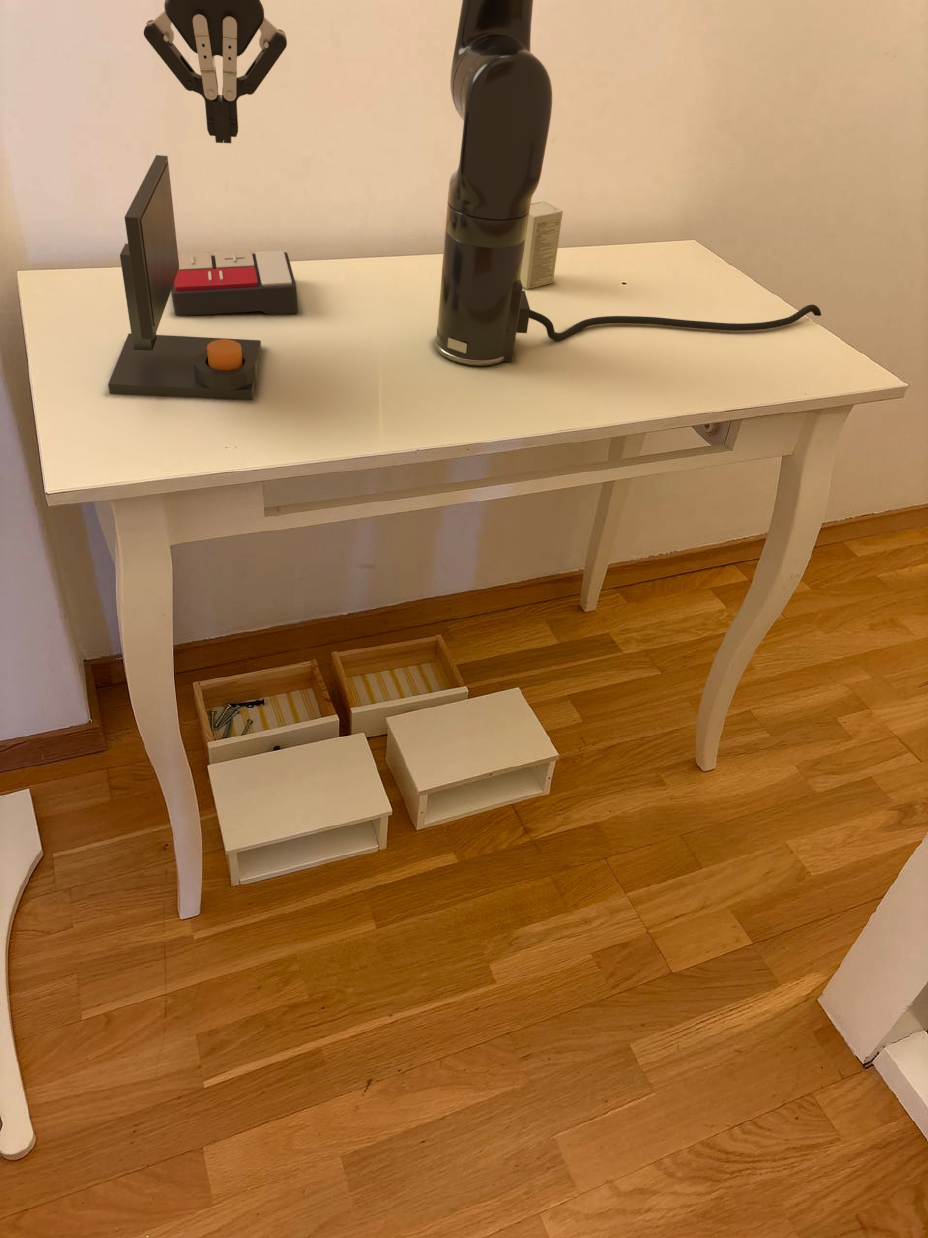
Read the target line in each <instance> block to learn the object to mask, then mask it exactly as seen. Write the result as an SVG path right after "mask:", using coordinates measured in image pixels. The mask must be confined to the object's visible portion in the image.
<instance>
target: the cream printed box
mask: <svg viewBox="0 0 928 1238" xmlns="http://www.w3.org/2000/svg"><path fill="white" fill-rule="evenodd" d="M562 219H563V210H562V209H561V208H557V207H556V206H554V205H552V204H550V203H548V202H546V201H544V200H543V201H538V202H533V203H532V202H531V204H530V210H529V217H528V225H527V232H526V239H525V247H524V254H523V261H522V269H521V276H520V278H521V282H522V286H523V289H525V290H528V289H533V288H537V287H541V286H545V285H549V284H552V283H553V282H554V276H555V269H556V263H557V255H558V249H559V241H560V233H561V227H562V226H561V225H562Z"/></svg>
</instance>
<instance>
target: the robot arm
mask: <svg viewBox="0 0 928 1238" xmlns="http://www.w3.org/2000/svg"><path fill="white" fill-rule="evenodd" d="M163 5H164V6H163V7H164V10H163V11H162V12H161V13H160V14H159V15H158V16H156V18H155V19H149V20H148V21H147V22H146V23H145V26H144V29H143V36H144V38H145V40H146V41H147V42H148V43H149V45H150V46H151V47H152V48H153V49H154V51H155V52H156V54H157V55H158V56H159V58H161V60H162V62H164V64H165V65H166V67H167V68H168V69H169V70H170V72H172V74H173V75H174V77H176V79H177V80H178V81H179V83H180V84H181V85H182V87H183V88H184V89H185V91H188V92H194V93H196V94H199V95H200V96H201V97H202V98H203V101H204V107H205V121H206V130H207V132H208V135H209V136H210V137H214V138H215V139H214V141H215V143H216V144H232V138H237V136H238V133H239V118H238V117H239V115H238V100H239V98H240V97H243V96H246V95H249V96H251V95H253V94H255V92H256V91H257V89H258V88H259V86H260V85H261V84H262V83H263V81H264V80H265V79H266V77H267V75H268V74H269V73H270V71H271V69H272V68H273V67H274V65H275V64H276V63H277V61H278V60H279V58H280V57H281V55H282V54H283V53H284V51H285V50H286V48H287V46H288V39H287V34H286V33H285V31H284V30H283V29H278V28H277V27H276V26H274V24H273V23H271V22H270V21H269V20H268V19H267V18H266V17H265V9H264V6H263V4H262V2H261V0H164V3H163ZM533 6H534V0H462V1H461V7H460V13H459V14H460V15H459V19H458V25H457V26H458V27H457V32H456V38H455V44H454V50H453V56H452V61H451V62H452V63H451V69H450V77H449V79H450V81H449V84H450V85H449V88H450V95H451V100H452V102H453V105H454V108H455V110H456V112H457V114H458V115H459V117H460V118H461V120H462V121H463V124H462V125H463V127H462V135H461V136H462V137H461V144H460V153H459V163H458V167H457V170H455V171H454V172H453V173H452V174H451V176H450V178H449V183H448V190H447V191H448V192H447V194H448V195H447V205H446V216H445V227H444V228H445V230H444V231H445V232H444V240H443V241H444V242H443V244H444V245H443V252H442V266H441V278H440V279H441V280H440V290H439V301H438V302H439V303H438V315H437V316H438V317H437V327H436V336H435V343H434V344H435V345H434V346H435V349H436V351H437V352H438V353H439V354H440V355H441V356H442V357H444V358H446V359H448V360H450V361H453V362H455V363H459V364H462V365H468V366H477V367H478V366H479V367H480V366H481V367H482V366H483V367H484V366H493V365H496V364H500V363H502V362H513V359H514V352H515V346H516V338H517V334H528V327H529V321H530V319H531V320H533V321H536V322H538V323H539V324H541V325H543V326H544V328H545V329H546V334H547V337H548V338H549V339H550V340H552V341H556V342H558V341H560V342H561V341H563V340H566V339H568V338H570V337H571V336H573V335H575V334H577V333H578V332H580V331H582V330H583V329H585V328H588V327H592V326H599V325H612V324H613V325H614V324H627V325H629V324H631V325H632V324H633V325H654V326H664V327H665V326H666V327H673V328H684V329H698V330H699V329H700V330H711V331H730V332H745V331H746V332H747V331H762V330H770V329H775V328H780V327H784V326H788V325H791V324H794V323H796V322H797V321H799V320H800V319H802V318H803V317H804V316H806V315H807V314H809V313H812V314H813V315H814V316H816V317H820V316H822V312H821V309H820V308H819V307H818V306H817V305H815V304H808V305H805V306H803V307H802V308H801V309H799V310H798V311H796V312H794V313H793V314H792V315H790V316H787V317H784V318H779V319H775V320H770V321H764V322H763V321H762V322H747V323H745V322H744V323H741V322H740V323H736V322H735V323H733V322H717V321H702V320H689V319H677V318H670V317H669V318H667V317H660V316H659V317H658V316H639V315H606V316H597V317H590V318H587V319H586V318H585V319H584V320H580V321H579V322H577V323H575V324H573V325H572V326H570V327H569V328H567V329H566V330H564V331H562V332H556V331H555V327H554V323H553V321H552V320H550V318H548V317H547V316H545V315H544V314H541V313H539V312H537V311H534V310H532V309H531V308H530V304H529V300H528V297H527V294H526V291H525V290H524V287H523V286H522V282H521V278H520V276H521V269H522V261H523V254H524V247H525V239H526V232H527V225H528V217H529V210H530V204H532V198H533V196H534V194H535V192H536V190H537V188H538V186H539V184H540V179H541V177H542V171H543V165H544V161H545V155H546V148H547V143H548V138H549V131H550V126H551V119H552V109H553V87H552V82H551V78H550V75H549V72H548V70H547V69H546V67H545V65H544V64H543V63H542V61H541V60H540V59H539V58H537V56H535V55H534V54H533V53H532V52H531V37H532V36H531V35H532V21H533V20H532V18H533V9H534V8H533ZM172 25H173V26H174V28H175V29H176V30H177V32H178V33H179V36H181V38H182V39H183V41H184V42H185V44H187V46H188V48H189V49H190V50H191V51H192V52H193V53H195V54H197V59H198V64H199V71H200V74H199V73H197V72H196V71H195V69H193V67H192V65H191V64H190V63H189V62H188V60H187V59H186V57H185V56H184V55H183V54H182V53H181V51H180V50H179V49H178V47H177V46H176V45H175V44H174V40H175V32H174V30H173V29H172ZM258 31H260V36H259V39H258V43H259V47H260V49H261V50H260V52H259V53H258V55H257V56H256V57H255V59H254V60H253V61H252V63H251V65H250V66H249V67H248V68H247V70H246V72H245V73H244V75H241V76H238V57H240V56H242V55H243V54H244V53H245V52H246V51H247V48H248V47H249V45H250V44H251V42H252V40H253V39H254V38H255V36H256V34H257V33H258ZM216 56H219V57H222V91H221V93H222V94H219V82H218V76H217V75H218V74H217V68H216V59H215V57H216Z"/></svg>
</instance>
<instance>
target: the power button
mask: <svg viewBox="0 0 928 1238" xmlns="http://www.w3.org/2000/svg"><path fill="white" fill-rule="evenodd" d="M227 339H228V338H226V339H221V340H215V341H212V342H210V343H209V344H208V345H207V354H208V364H209V367H211V368H214V369H216V370H227V371H229V370H234V369H238V368H240V367H241V366H242V350H241V345H240V344H239V343H238V342H236V341H233V340H227Z"/></svg>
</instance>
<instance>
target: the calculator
mask: <svg viewBox="0 0 928 1238" xmlns="http://www.w3.org/2000/svg"><path fill="white" fill-rule="evenodd" d="M178 259H179V270H178V273H177V276H176V278H175V281H174V284H173V287H172V290H171V292H170V295H171V300H172V306H173V311H174V315H175V316H176V317H185V316H186V317H187V316H202V315H203V316H204V315H216V314H217V315H218V314H231V313H248V312H262V313H264V314H266V315H269V316H273V315H274V316H276V315H289V314H297V313H298V312H299V306H298V305H299V304H298V291H297V284H296V280H295V276H294V273H293V269H292V265H291V261H290V258H289V254H288V252H286V251H284V250H265V251H264V250H263V251H256V252H255V253H253V252H252V250H238V251H237V250H236V251H217V252H214V255H212V253H211V252H199V253H198V252H197V253H178Z"/></svg>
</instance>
